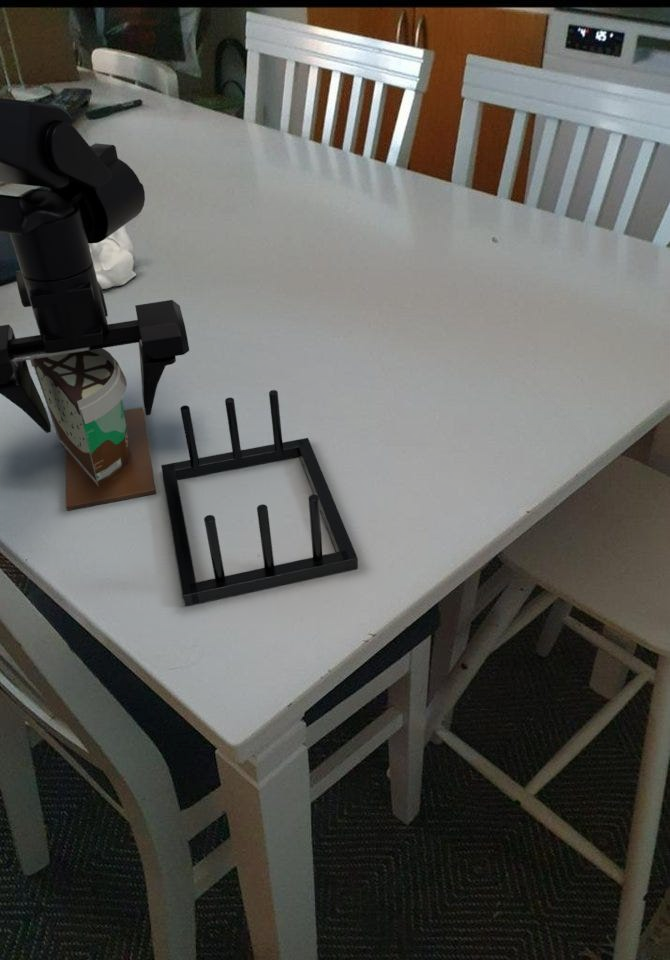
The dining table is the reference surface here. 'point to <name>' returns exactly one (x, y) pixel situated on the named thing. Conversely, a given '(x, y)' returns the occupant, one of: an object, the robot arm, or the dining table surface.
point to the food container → (87, 409)
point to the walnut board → (123, 486)
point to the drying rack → (249, 457)
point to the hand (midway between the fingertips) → (99, 421)
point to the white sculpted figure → (113, 259)
